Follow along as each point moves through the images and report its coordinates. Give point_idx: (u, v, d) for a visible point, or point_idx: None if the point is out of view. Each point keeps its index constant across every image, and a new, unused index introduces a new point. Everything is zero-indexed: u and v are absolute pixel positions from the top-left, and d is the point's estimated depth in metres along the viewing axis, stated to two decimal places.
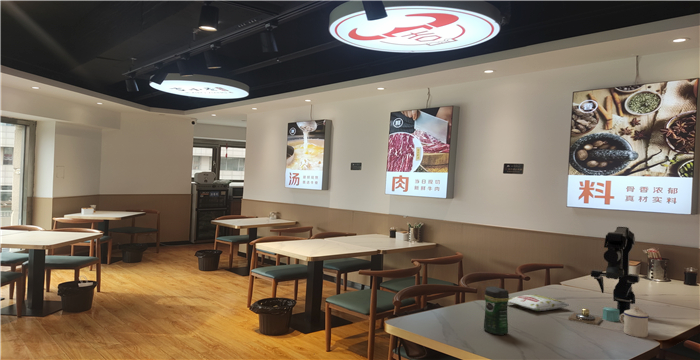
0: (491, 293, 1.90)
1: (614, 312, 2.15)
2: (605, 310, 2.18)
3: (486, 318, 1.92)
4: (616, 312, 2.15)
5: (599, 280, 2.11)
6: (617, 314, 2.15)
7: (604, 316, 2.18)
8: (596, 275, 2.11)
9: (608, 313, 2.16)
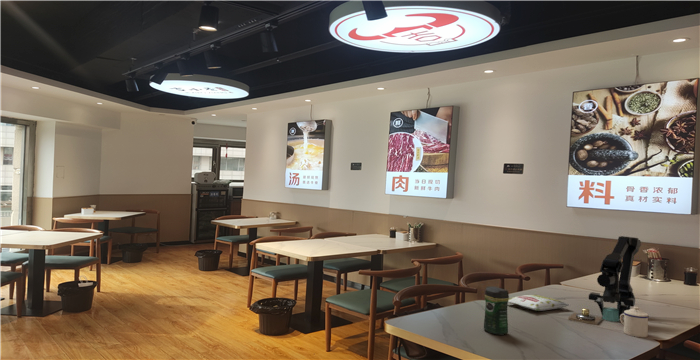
0: (491, 293, 1.90)
1: (614, 312, 2.15)
2: (605, 310, 2.18)
3: (486, 318, 1.92)
4: (616, 312, 2.15)
5: (599, 303, 2.20)
6: (617, 314, 2.15)
7: (604, 316, 2.18)
8: (594, 298, 2.20)
9: (608, 313, 2.16)
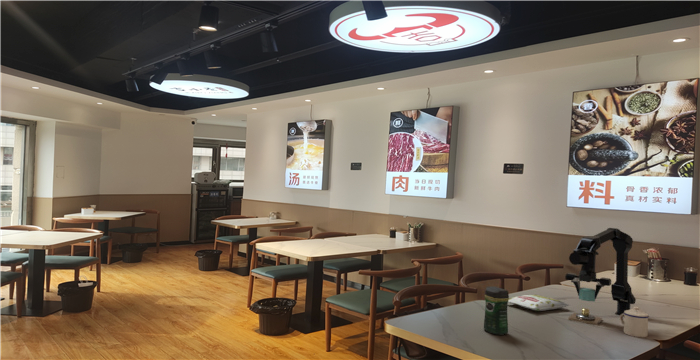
0: (491, 293, 1.90)
1: (590, 292, 2.13)
2: (581, 290, 2.16)
3: (486, 318, 1.92)
4: (592, 292, 2.13)
5: (576, 283, 2.18)
6: (593, 294, 2.13)
7: (580, 296, 2.16)
8: (570, 278, 2.18)
9: (584, 293, 2.14)
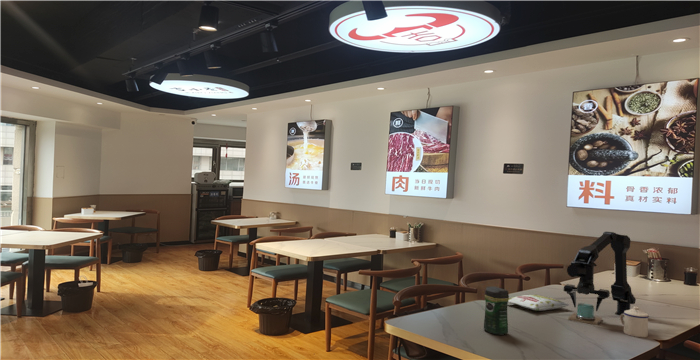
0: (491, 293, 1.90)
1: (588, 308, 2.13)
2: (579, 306, 2.16)
3: (486, 318, 1.92)
4: (590, 308, 2.13)
5: (571, 295, 2.18)
6: (591, 310, 2.13)
7: (578, 312, 2.16)
8: (568, 290, 2.18)
9: (582, 309, 2.14)
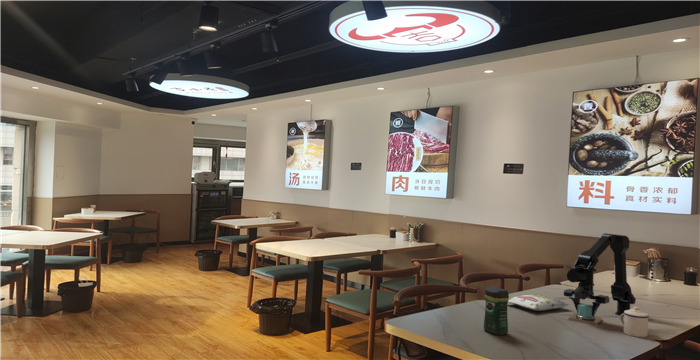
0: (491, 293, 1.90)
1: (587, 308, 2.13)
2: (579, 306, 2.16)
3: (486, 318, 1.92)
4: (589, 308, 2.13)
5: (574, 300, 2.18)
6: (590, 310, 2.13)
7: (578, 312, 2.17)
8: (568, 294, 2.20)
9: (581, 309, 2.15)
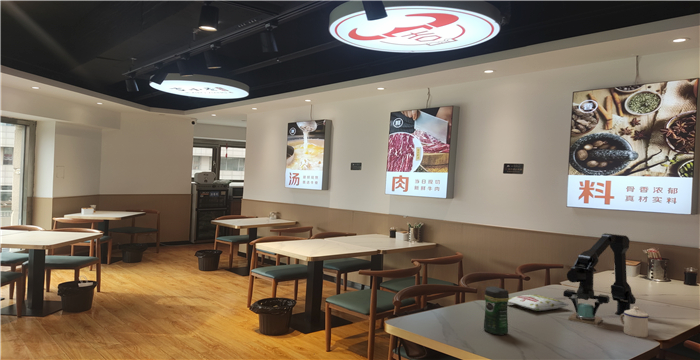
0: (491, 293, 1.90)
1: (581, 307, 2.15)
2: None
3: (486, 318, 1.92)
4: (583, 307, 2.14)
5: (573, 300, 2.18)
6: (584, 309, 2.14)
7: None
8: (568, 295, 2.18)
9: (578, 307, 2.17)
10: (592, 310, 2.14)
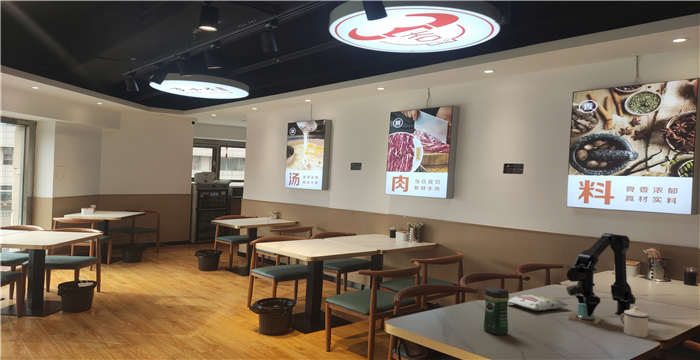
0: (491, 293, 1.90)
1: (578, 305, 2.18)
2: None
3: (486, 318, 1.92)
4: (578, 305, 2.17)
5: (576, 297, 2.22)
6: (578, 308, 2.17)
7: None
8: None
9: None
10: (585, 310, 2.13)
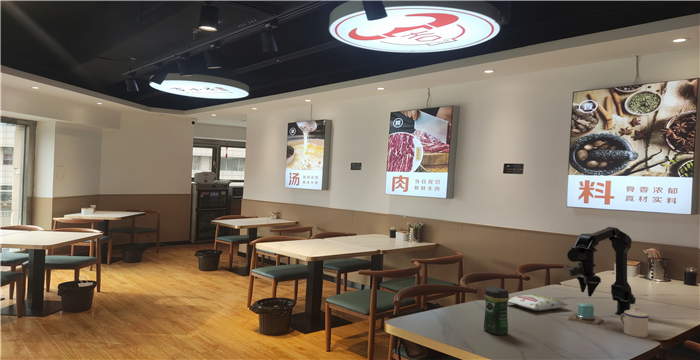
0: (491, 293, 1.90)
1: (578, 305, 2.18)
2: None
3: (486, 318, 1.92)
4: (578, 305, 2.17)
5: (577, 278, 2.23)
6: (578, 308, 2.17)
7: None
8: None
9: None
10: (585, 310, 2.13)
